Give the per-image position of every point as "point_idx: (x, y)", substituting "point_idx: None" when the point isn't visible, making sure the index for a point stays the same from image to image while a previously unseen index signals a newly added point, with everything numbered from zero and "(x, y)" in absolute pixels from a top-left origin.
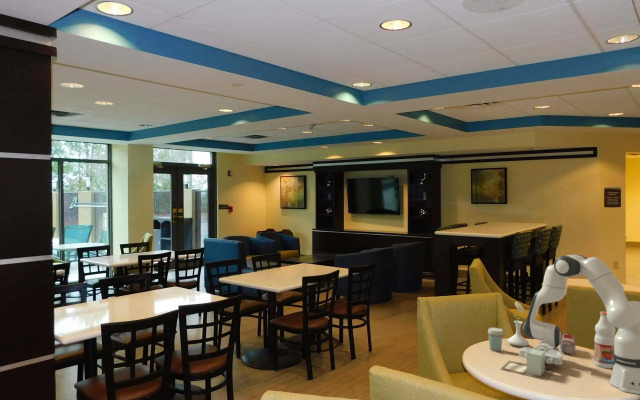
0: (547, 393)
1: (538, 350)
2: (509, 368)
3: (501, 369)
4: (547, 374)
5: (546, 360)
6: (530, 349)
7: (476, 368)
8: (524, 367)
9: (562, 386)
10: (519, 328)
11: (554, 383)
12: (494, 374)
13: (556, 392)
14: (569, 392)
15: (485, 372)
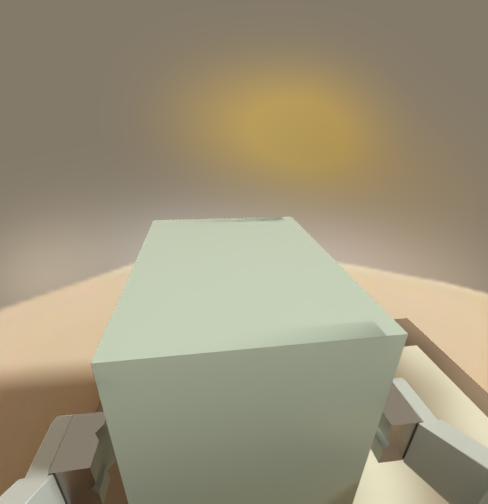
0: (122, 272)
1: (238, 320)
2: (400, 360)
3: (402, 323)
4: (115, 473)
5: (98, 412)
6: (360, 287)
7: (475, 296)
8: (380, 488)
9: (20, 365)
10: None
11: (71, 376)
12: (373, 291)
13: (81, 292)
14: (4, 321)
15: (410, 286)
